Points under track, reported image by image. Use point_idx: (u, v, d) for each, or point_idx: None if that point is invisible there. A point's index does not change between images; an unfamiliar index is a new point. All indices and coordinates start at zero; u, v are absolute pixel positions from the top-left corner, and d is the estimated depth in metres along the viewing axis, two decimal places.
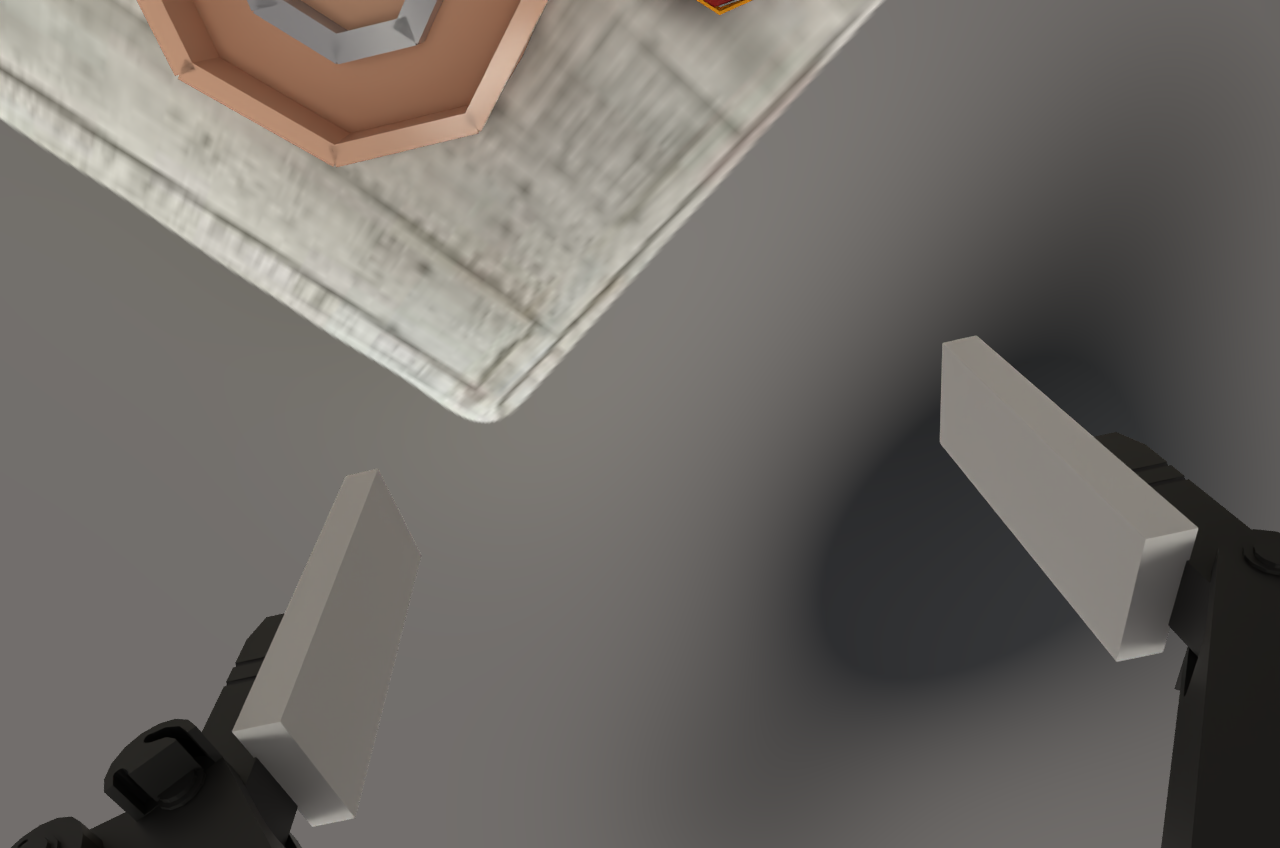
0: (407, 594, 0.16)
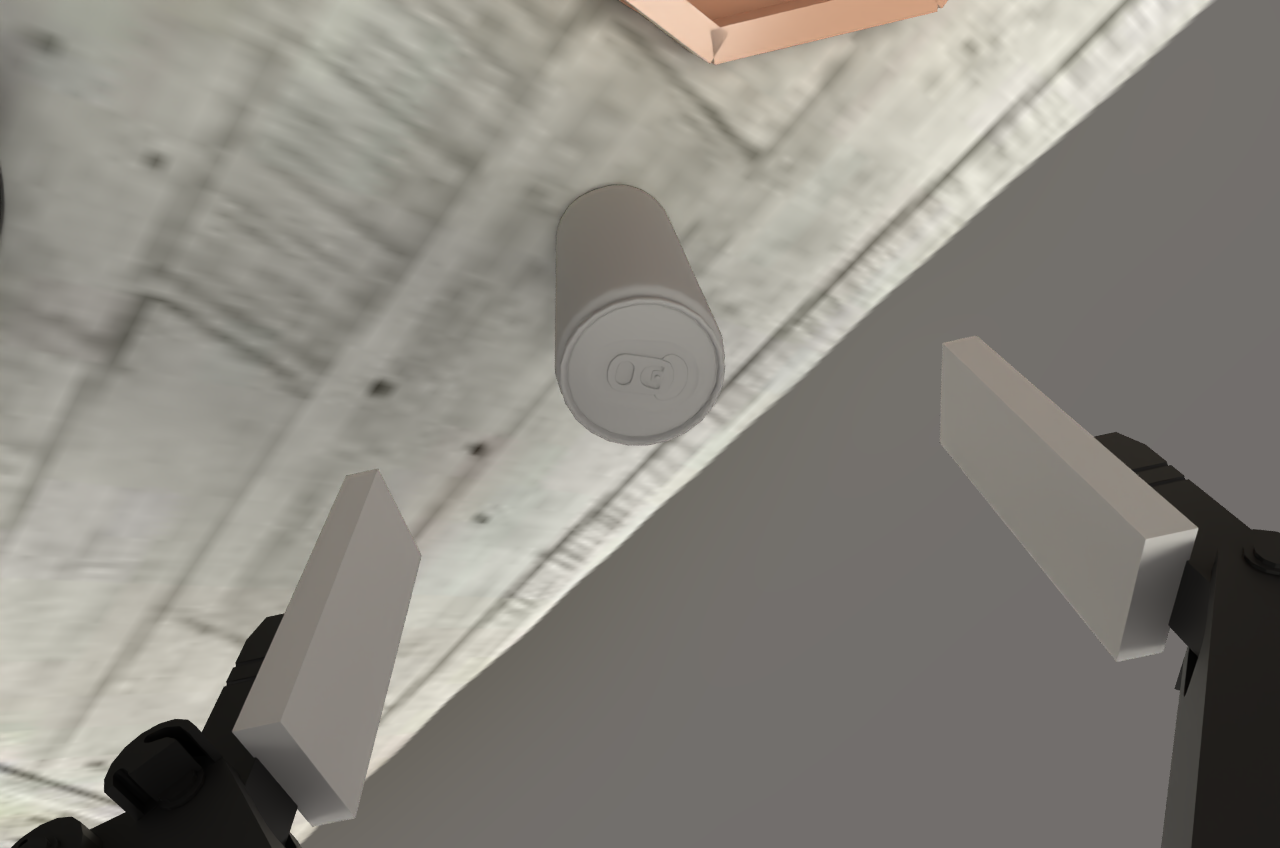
0: (407, 594, 0.16)
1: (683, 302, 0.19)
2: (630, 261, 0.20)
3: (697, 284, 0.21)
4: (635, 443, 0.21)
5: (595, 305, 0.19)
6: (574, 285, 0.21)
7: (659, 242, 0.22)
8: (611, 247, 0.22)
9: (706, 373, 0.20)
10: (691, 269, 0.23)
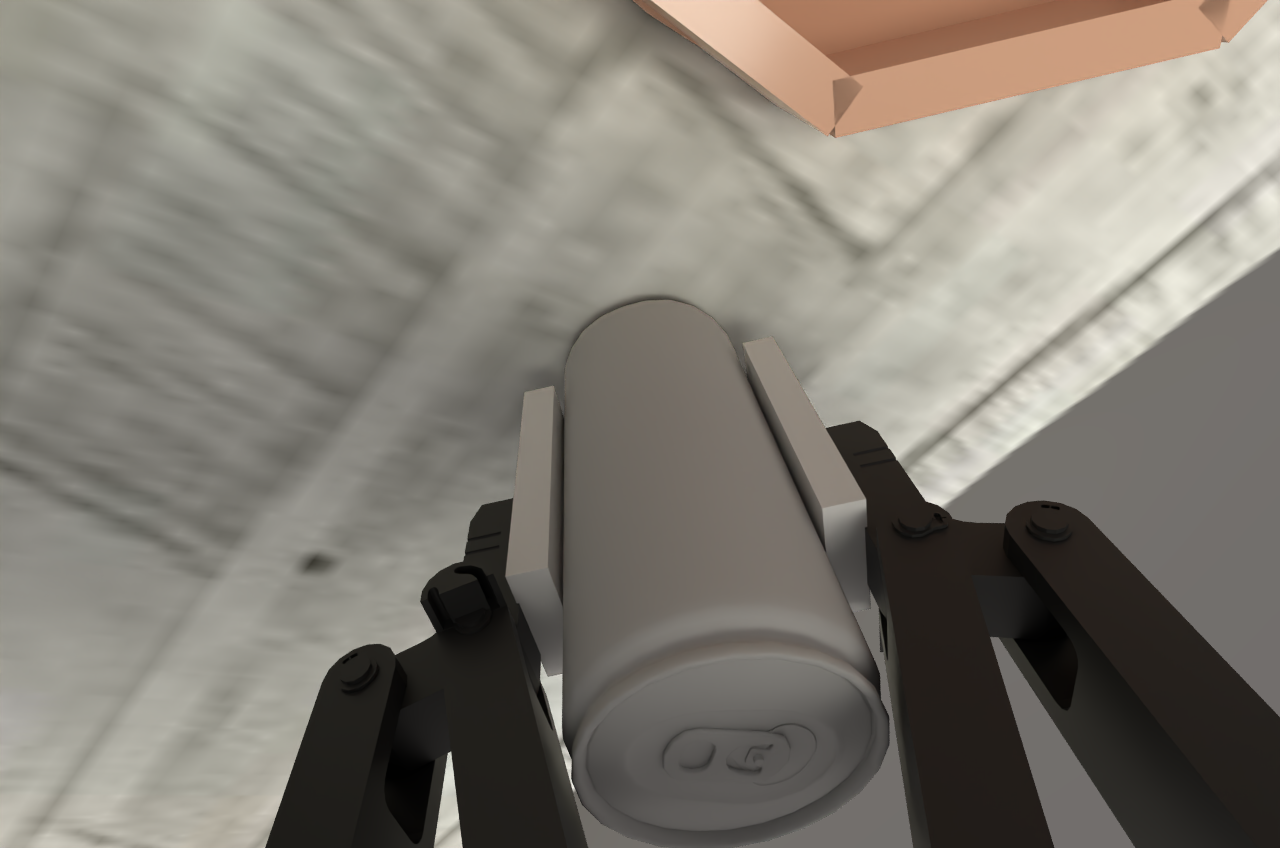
0: None
1: (817, 635, 0.10)
2: (704, 519, 0.11)
3: (816, 535, 0.12)
4: (709, 847, 0.11)
5: (643, 645, 0.09)
6: (599, 552, 0.11)
7: (742, 445, 0.13)
8: (663, 467, 0.12)
9: (850, 746, 0.10)
10: (795, 486, 0.13)
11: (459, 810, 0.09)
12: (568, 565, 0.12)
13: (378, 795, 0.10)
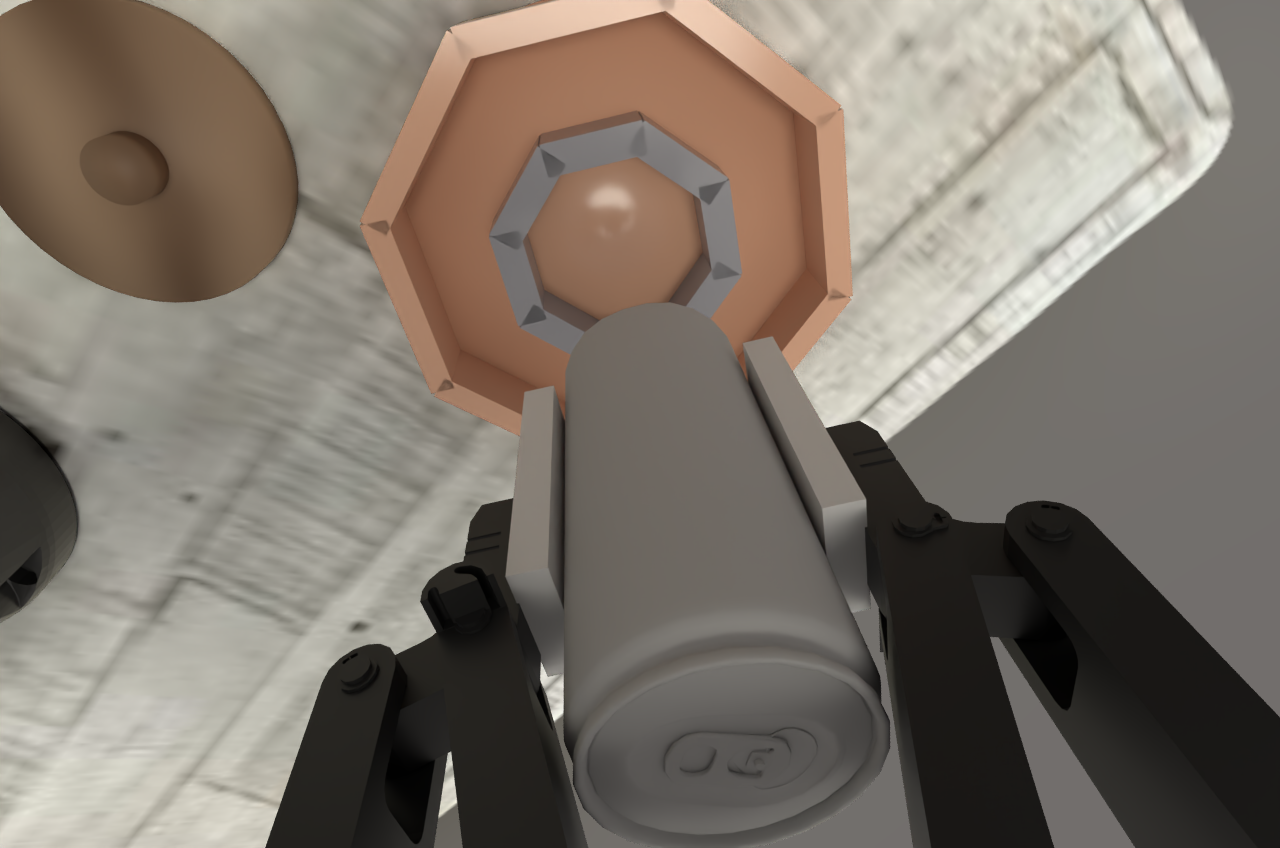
0: None
1: (817, 639, 0.10)
2: (704, 523, 0.11)
3: (816, 539, 0.12)
4: None
5: (644, 650, 0.09)
6: (599, 555, 0.11)
7: (743, 449, 0.13)
8: (664, 471, 0.12)
9: (850, 751, 0.10)
10: (795, 489, 0.13)
11: (459, 810, 0.09)
12: (569, 569, 0.12)
13: (378, 794, 0.10)
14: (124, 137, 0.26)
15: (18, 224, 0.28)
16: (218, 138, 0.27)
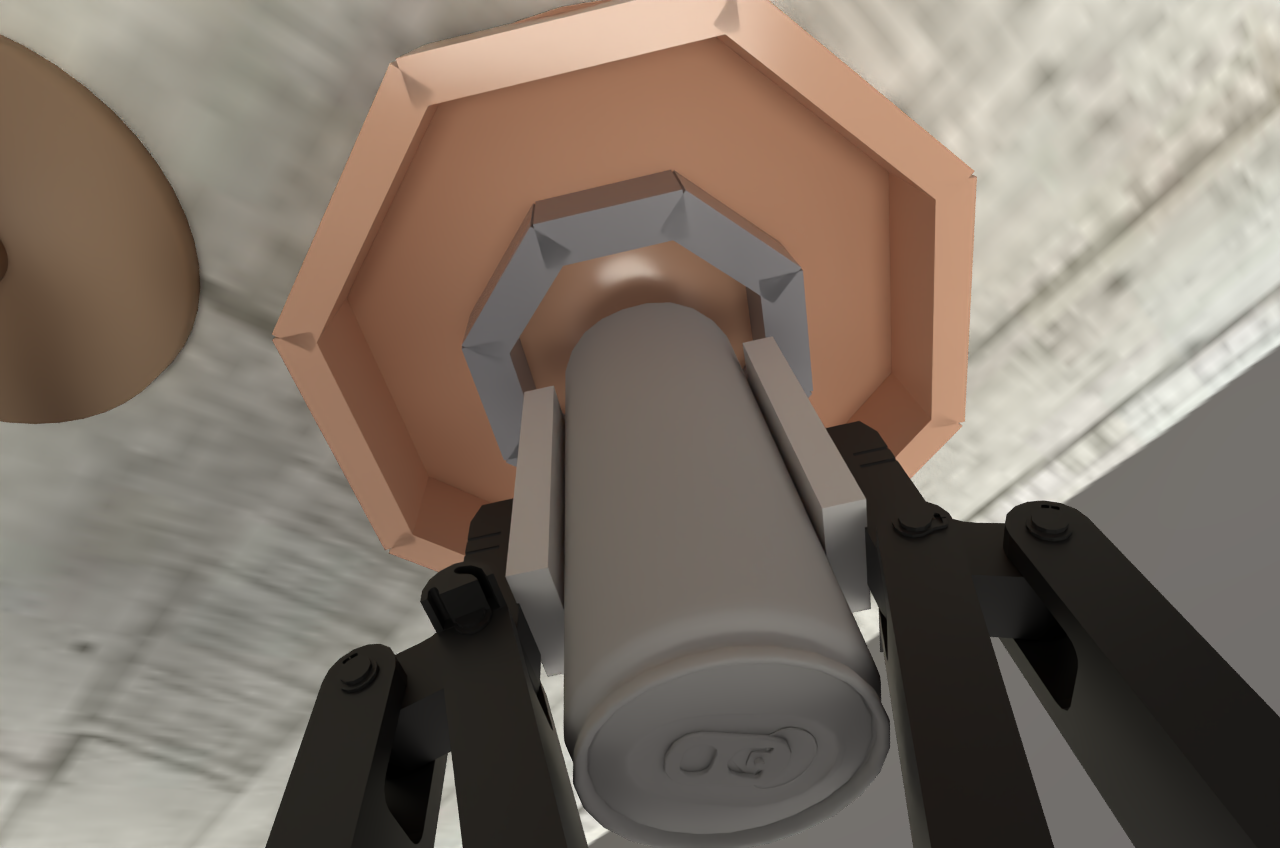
0: None
1: (817, 639, 0.10)
2: (705, 523, 0.11)
3: (816, 539, 0.12)
4: None
5: (644, 650, 0.09)
6: (600, 555, 0.11)
7: (743, 449, 0.13)
8: (663, 471, 0.12)
9: (850, 750, 0.10)
10: (795, 489, 0.13)
11: (459, 811, 0.09)
12: (569, 568, 0.12)
13: (378, 795, 0.10)
14: None
15: None
16: (74, 209, 0.19)
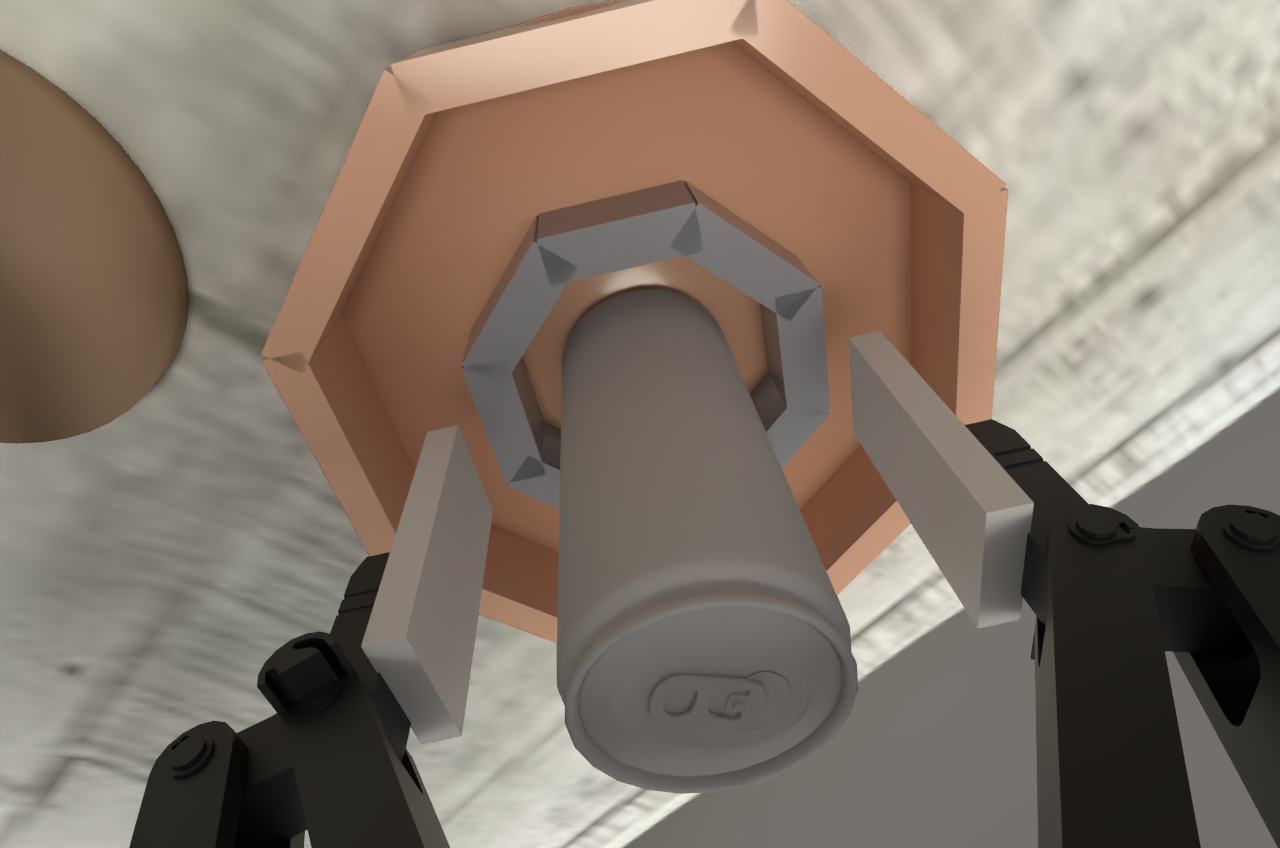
0: (485, 544, 0.17)
1: (789, 588, 0.10)
2: (688, 485, 0.12)
3: (794, 503, 0.13)
4: (694, 791, 0.12)
5: (628, 597, 0.10)
6: (591, 518, 0.12)
7: (727, 421, 0.14)
8: (651, 441, 0.13)
9: (822, 694, 0.11)
10: (776, 460, 0.14)
11: None
12: (563, 532, 0.13)
13: None
14: None
15: None
16: (54, 222, 0.18)
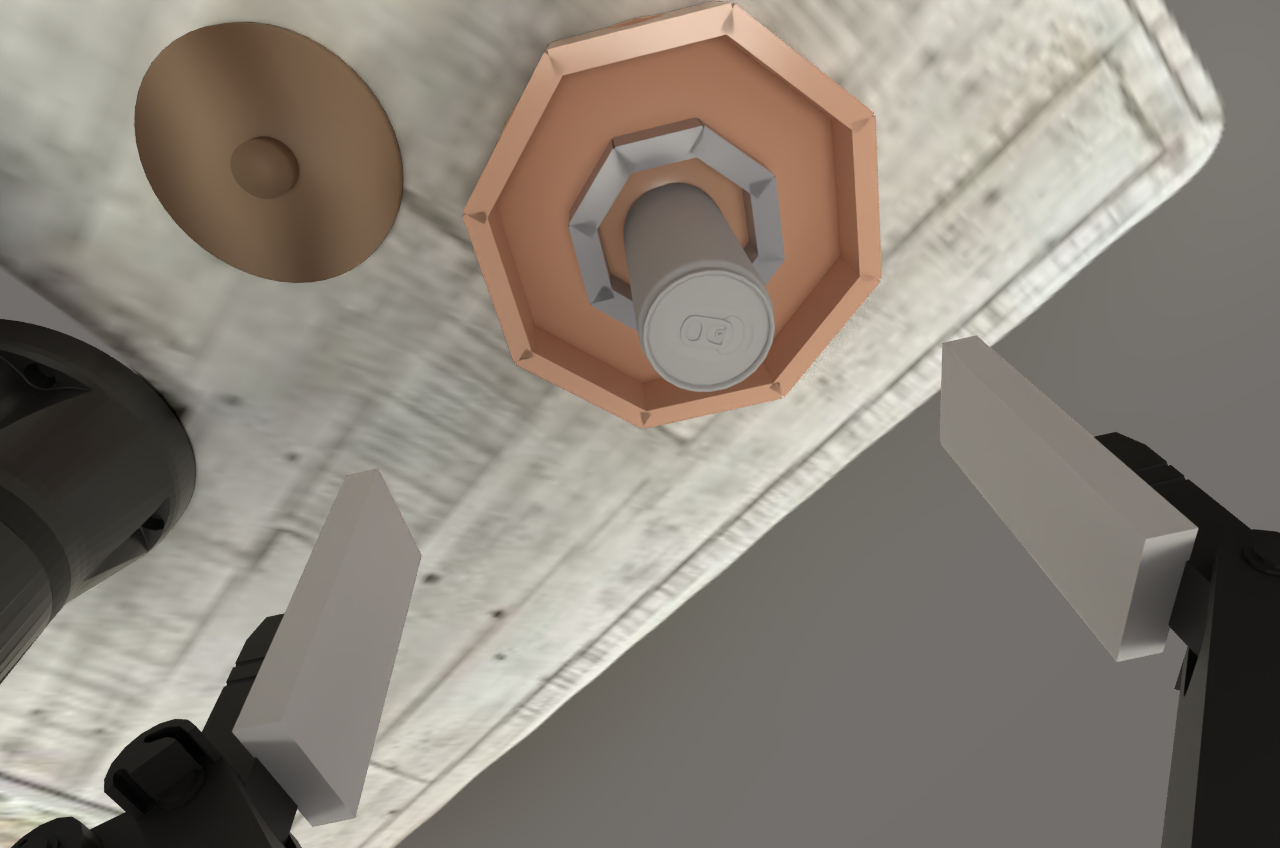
0: (407, 594, 0.16)
1: (742, 273, 0.24)
2: (698, 242, 0.25)
3: (750, 262, 0.26)
4: (700, 390, 0.25)
5: (672, 276, 0.24)
6: (651, 262, 0.26)
7: (718, 228, 0.27)
8: (680, 233, 0.27)
9: (759, 332, 0.25)
10: (744, 251, 0.28)
11: None
12: (636, 280, 0.27)
13: None
14: (267, 141, 0.31)
15: (171, 215, 0.33)
16: (342, 142, 0.32)
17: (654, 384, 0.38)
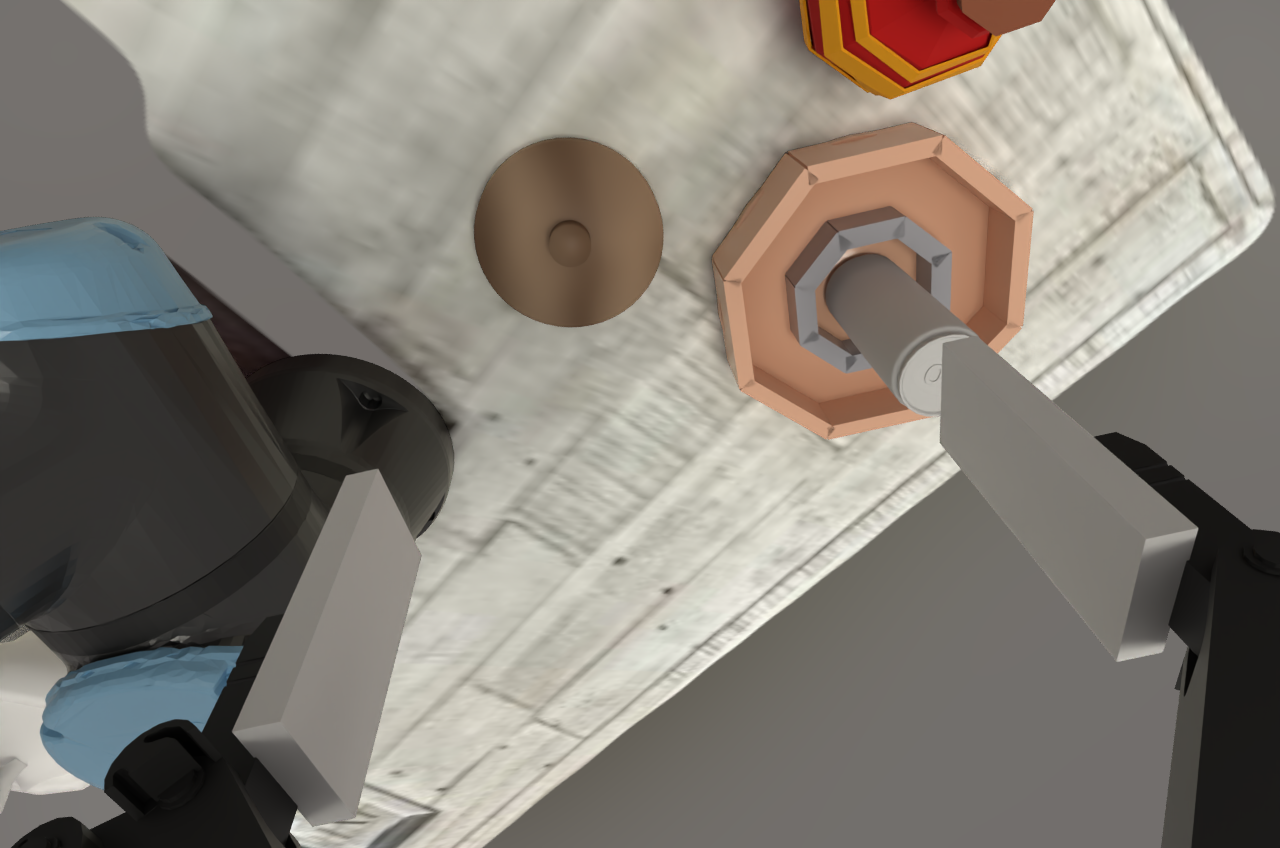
0: (407, 594, 0.16)
1: (971, 335, 0.34)
2: (931, 311, 0.36)
3: None
4: (931, 415, 0.36)
5: (924, 337, 0.34)
6: (895, 324, 0.36)
7: (932, 297, 0.38)
8: (910, 302, 0.37)
9: None
10: None
11: None
12: (877, 335, 0.37)
13: None
14: (577, 225, 0.41)
15: (486, 277, 0.43)
16: (626, 224, 0.42)
17: (829, 404, 0.49)
